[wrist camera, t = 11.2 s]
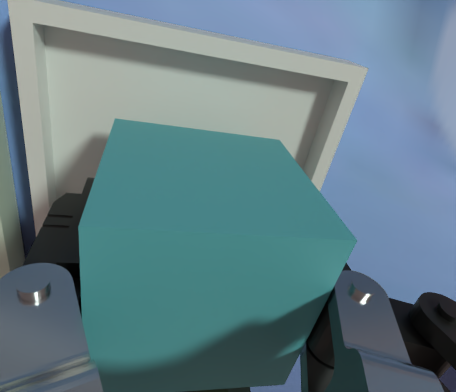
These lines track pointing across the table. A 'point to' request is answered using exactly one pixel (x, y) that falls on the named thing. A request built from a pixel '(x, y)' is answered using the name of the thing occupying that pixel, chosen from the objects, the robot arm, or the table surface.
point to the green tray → (8, 210)
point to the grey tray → (162, 90)
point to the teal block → (202, 259)
